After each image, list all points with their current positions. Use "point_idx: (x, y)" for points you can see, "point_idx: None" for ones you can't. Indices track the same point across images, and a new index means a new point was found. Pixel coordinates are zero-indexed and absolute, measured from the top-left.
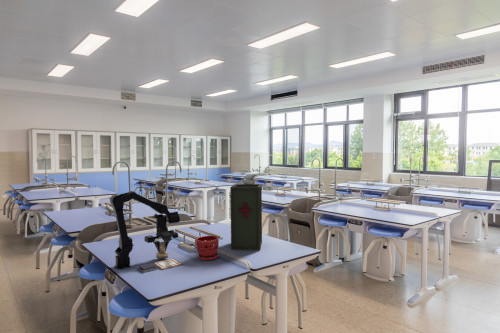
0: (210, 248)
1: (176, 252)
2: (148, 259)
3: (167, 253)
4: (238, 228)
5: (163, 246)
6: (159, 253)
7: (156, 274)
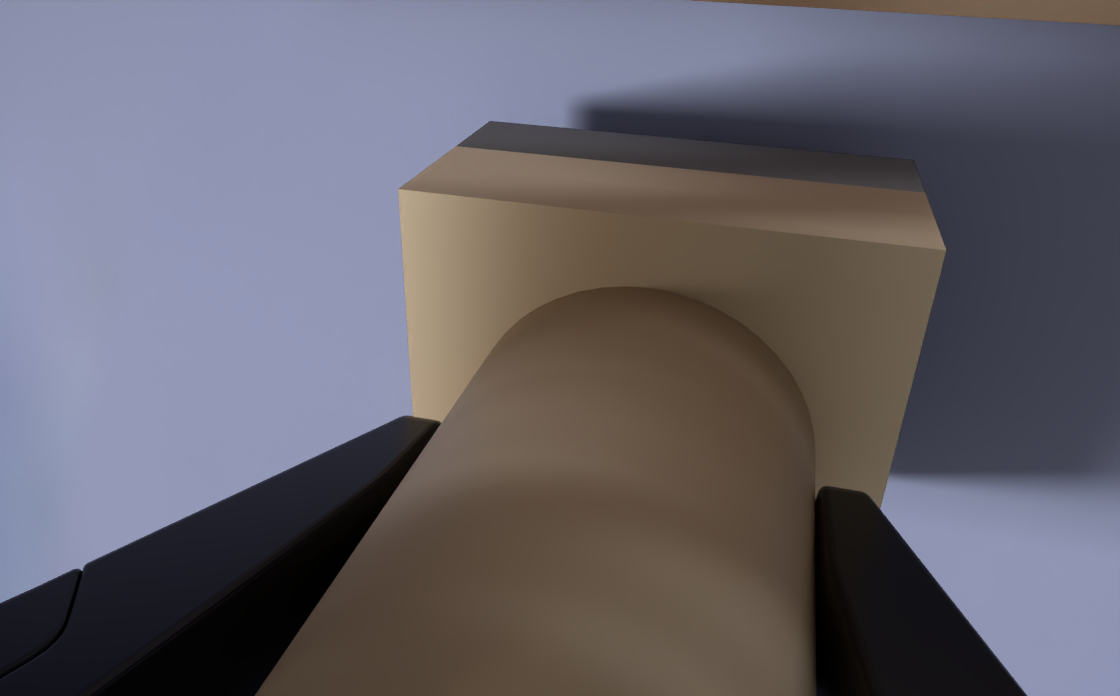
0: None
1: (54, 492)
2: (1075, 627)
3: (434, 186)
4: None
5: (500, 582)
6: (812, 445)
7: None
